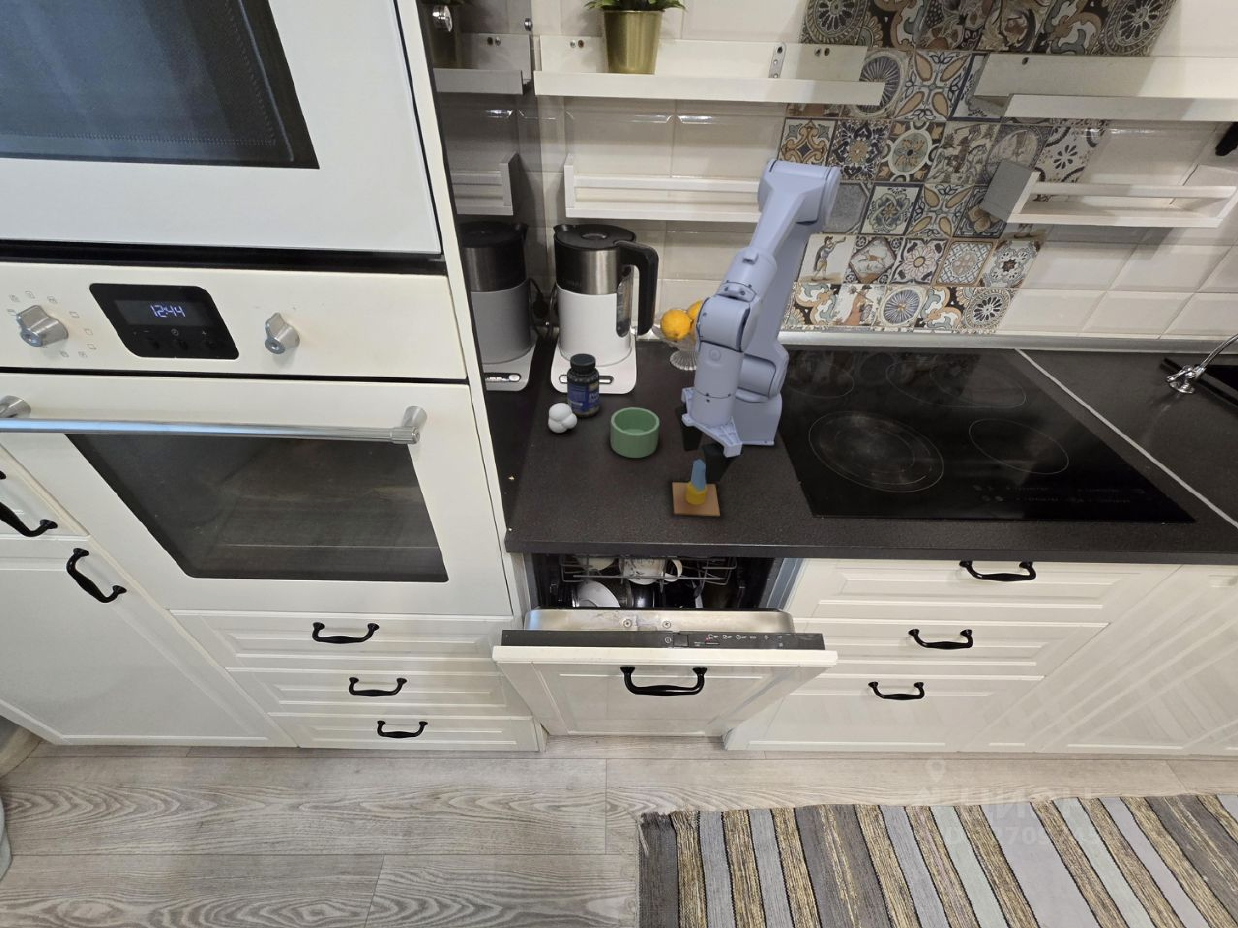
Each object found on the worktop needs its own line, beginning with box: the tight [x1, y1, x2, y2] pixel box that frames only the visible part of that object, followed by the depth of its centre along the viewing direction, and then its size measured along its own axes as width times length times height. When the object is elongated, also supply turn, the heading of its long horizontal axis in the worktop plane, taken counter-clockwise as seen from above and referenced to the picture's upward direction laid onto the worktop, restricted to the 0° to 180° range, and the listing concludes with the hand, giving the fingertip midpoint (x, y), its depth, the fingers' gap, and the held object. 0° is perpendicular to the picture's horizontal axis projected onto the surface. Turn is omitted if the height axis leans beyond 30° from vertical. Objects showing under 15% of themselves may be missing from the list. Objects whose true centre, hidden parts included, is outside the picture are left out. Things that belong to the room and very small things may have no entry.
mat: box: [671, 482, 721, 517], centre depth 82 cm, size 7×7×1 cm
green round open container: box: [609, 406, 660, 459], centre depth 91 cm, size 8×8×5 cm
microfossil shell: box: [547, 402, 578, 434], centre depth 93 cm, size 4×5×6 cm
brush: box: [685, 458, 708, 505], centre depth 79 cm, size 3×3×7 cm
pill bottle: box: [566, 353, 600, 419], centre depth 97 cm, size 6×6×11 cm
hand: (701, 464), depth 77 cm, fingers open, 7 cm apart
